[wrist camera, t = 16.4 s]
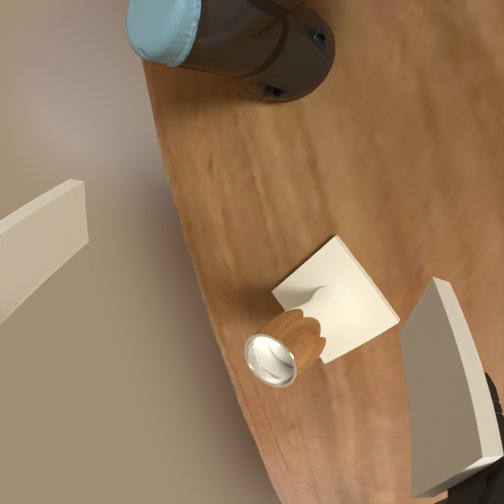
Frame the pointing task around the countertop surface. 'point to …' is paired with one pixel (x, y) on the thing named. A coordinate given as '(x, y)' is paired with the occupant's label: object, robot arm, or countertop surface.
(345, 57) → the countertop surface
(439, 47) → the countertop surface
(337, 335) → the mat
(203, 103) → the countertop surface
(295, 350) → the beer glass
